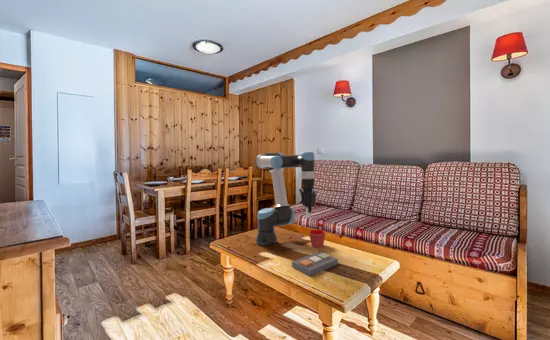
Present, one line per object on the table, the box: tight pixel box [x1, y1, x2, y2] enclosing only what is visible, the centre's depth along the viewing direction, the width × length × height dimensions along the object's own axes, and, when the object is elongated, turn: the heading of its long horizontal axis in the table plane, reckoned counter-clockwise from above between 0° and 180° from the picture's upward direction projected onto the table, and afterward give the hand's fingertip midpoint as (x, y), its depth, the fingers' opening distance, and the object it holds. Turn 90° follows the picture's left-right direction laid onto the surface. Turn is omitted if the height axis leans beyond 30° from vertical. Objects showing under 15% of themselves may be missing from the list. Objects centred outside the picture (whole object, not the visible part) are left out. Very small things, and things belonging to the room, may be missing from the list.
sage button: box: [317, 252, 331, 259], centre depth 151 cm, size 5×5×3 cm
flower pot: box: [308, 229, 326, 249], centre depth 176 cm, size 11×11×10 cm
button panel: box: [291, 251, 339, 277], centre depth 147 cm, size 14×22×3 cm, turn 128°
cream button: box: [308, 256, 322, 263], centre depth 147 cm, size 5×5×3 cm
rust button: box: [299, 259, 313, 267], centre depth 142 cm, size 5×5×3 cm
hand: (308, 217), depth 156 cm, fingers closed
